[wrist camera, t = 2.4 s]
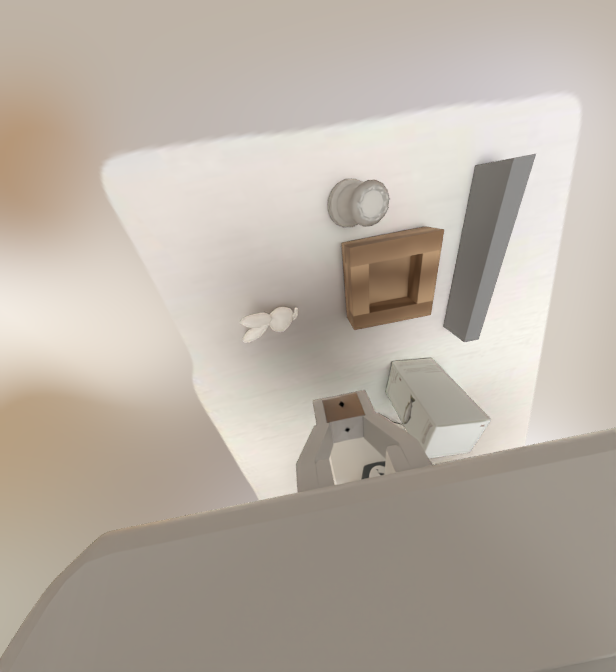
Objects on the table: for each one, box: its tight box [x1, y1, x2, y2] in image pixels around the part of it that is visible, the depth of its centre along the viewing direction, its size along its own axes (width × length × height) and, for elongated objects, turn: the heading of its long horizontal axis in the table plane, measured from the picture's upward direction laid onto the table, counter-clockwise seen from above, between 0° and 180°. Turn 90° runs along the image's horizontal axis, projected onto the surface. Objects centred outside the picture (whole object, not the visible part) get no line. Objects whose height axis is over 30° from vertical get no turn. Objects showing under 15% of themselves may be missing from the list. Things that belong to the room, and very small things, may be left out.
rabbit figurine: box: [240, 307, 298, 343], centre depth 28 cm, size 6×4×8 cm
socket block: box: [342, 227, 444, 330], centre depth 27 cm, size 10×10×4 cm
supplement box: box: [385, 358, 491, 458], centre depth 33 cm, size 7×7×13 cm
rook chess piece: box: [328, 179, 390, 227], centre depth 20 cm, size 4×4×8 cm
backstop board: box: [443, 154, 536, 342], centre depth 26 cm, size 20×2×4 cm, turn 9°
